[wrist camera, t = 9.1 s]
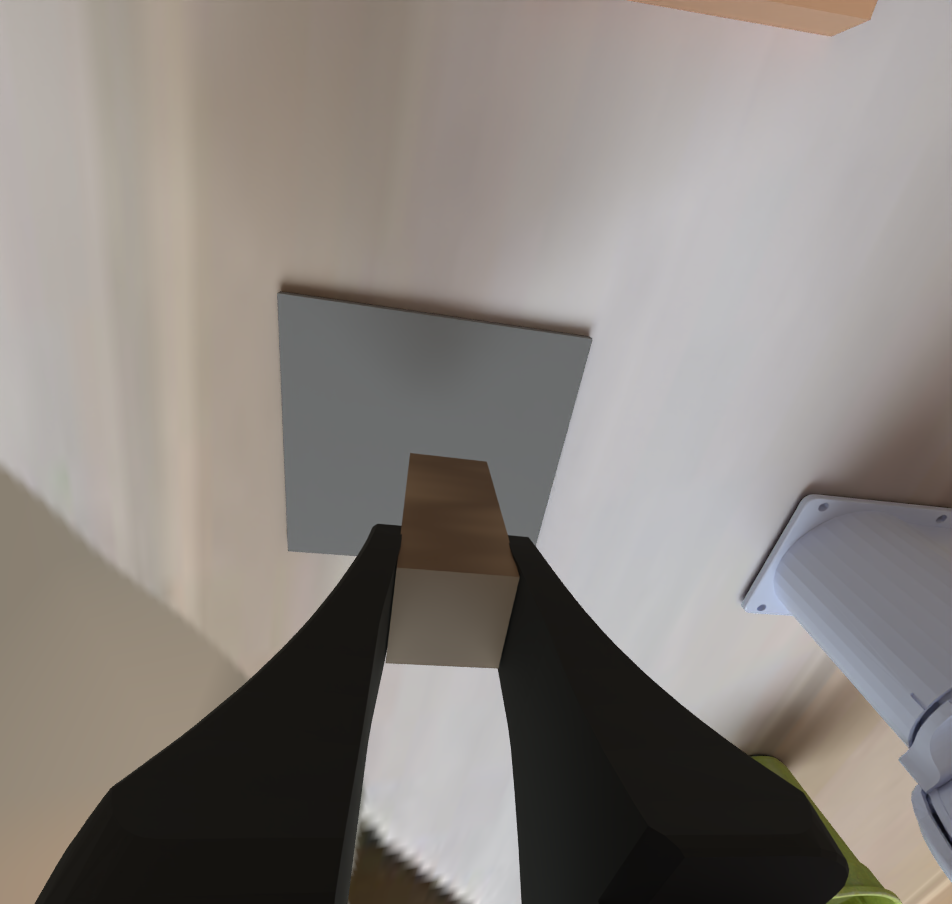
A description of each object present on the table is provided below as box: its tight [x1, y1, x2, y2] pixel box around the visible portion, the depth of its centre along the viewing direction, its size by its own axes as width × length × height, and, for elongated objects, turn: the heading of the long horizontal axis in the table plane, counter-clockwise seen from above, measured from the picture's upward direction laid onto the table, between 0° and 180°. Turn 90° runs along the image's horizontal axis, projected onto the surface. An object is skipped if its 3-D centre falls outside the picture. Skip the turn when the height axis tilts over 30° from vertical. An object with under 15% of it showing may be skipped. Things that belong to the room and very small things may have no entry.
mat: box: [277, 291, 592, 556], centre depth 20 cm, size 12×12×1 cm
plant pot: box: [752, 756, 902, 904], centre depth 32 cm, size 9×9×9 cm
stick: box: [386, 453, 520, 668], centre depth 12 cm, size 2×2×6 cm
